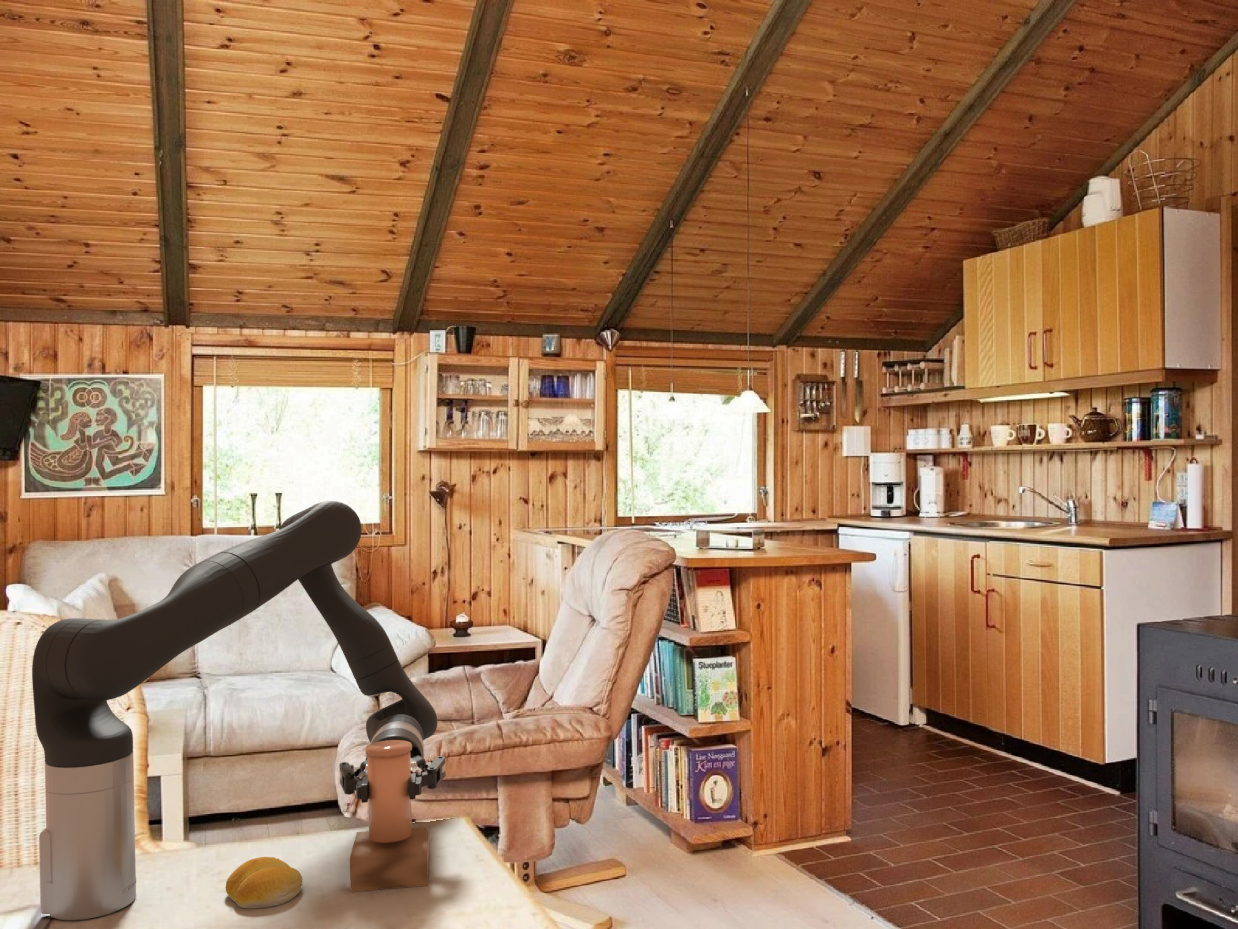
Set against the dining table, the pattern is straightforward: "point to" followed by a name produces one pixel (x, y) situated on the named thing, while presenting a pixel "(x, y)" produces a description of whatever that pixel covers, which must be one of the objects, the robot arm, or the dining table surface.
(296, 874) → the bread roll
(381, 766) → the jar
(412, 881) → the plinth
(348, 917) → the dining table surface
